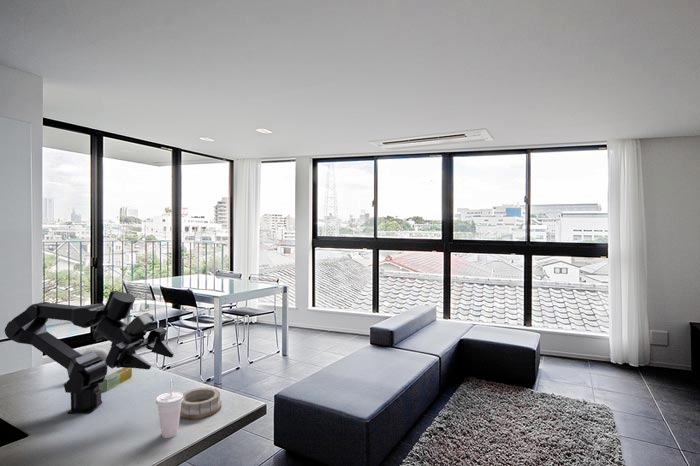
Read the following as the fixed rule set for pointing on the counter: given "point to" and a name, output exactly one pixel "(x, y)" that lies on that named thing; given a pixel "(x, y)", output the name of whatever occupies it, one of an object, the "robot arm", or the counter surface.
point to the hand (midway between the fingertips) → (161, 361)
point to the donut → (98, 352)
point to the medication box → (115, 379)
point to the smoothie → (169, 411)
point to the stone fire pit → (200, 403)
